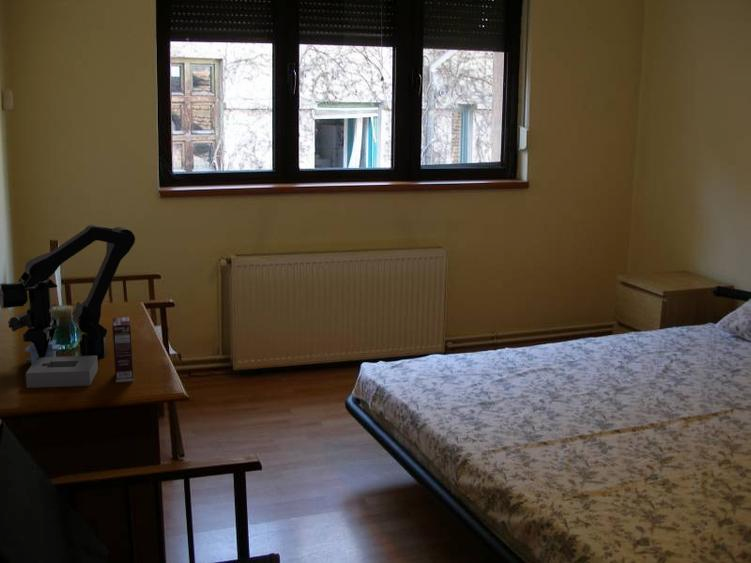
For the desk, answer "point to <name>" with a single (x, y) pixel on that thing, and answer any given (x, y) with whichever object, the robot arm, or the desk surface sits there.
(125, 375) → the supplement box
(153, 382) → the desk surface
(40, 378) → the chassis
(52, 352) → the block
